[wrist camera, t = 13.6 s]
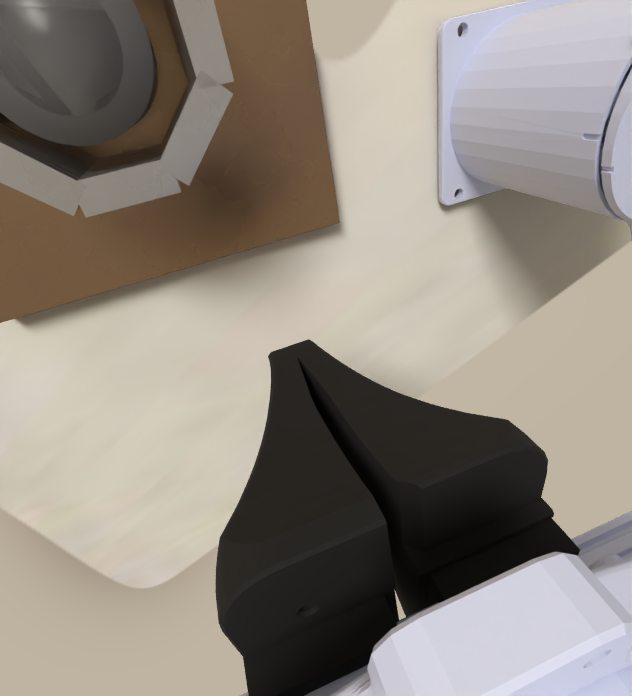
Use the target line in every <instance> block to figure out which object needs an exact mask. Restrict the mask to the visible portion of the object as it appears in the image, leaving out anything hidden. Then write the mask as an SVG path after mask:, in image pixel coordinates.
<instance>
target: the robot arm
mask: <svg viewBox="0 0 632 696" xmlns="http://www.w3.org/2000/svg"><path fill="white" fill-rule="evenodd" d="M460 24H461V26H462V29H463V31H462V35H461V36H460V37H459V36H458V32H457V31H458V27H459V25H460ZM438 156H439V201H440V202H441V203H442V204H444V205H446V206H449V205H453V204H456V203H460V202H463V201H466V200H469V199H473V198H476V197H479V196H483V195H486V194H489V193H493V192H496V191H499V190H502V189H506V188H507V189H510V190H514V191H518V192H521V193H525V194H529V195H532V196H536V197H540V198H543V199H547V200H551V201H554V202H558V203H562V204H565V205H569V206H573V207H576V208H580V209H584V210H587V211H591V212H595V213H598V214H602V215H606V216H609V217H613V218H617V219H620V220H624V221H626V222H627V223H628V225H629V227H630V230H631V240H632V0H530V1H526V2H521V3H517V4H512V5H508V6H503V7H499V8H494V9H490V10H485V11H481V12H476V13H472V14H467V15H463V16H458V17H454V18H450V19H447V20H445V21H444V22H443V23H442V24H441V26H440V28H439V32H438ZM456 190H459V192H458V195H457V196H456V197H455V196H454V195H455V192H456ZM268 358H269V361H270V366H271V392H270V402H269V409H268V416H267V422H266V426H265V431H264V435H263V439H262V443H261V446H260V449H259V453H258V456H257V459H256V462H255V465H254V468H253V470H252V473H251V475H250V478H249V480H248V482H247V485H246V487H245V489H244V492H243V494H242V496H241V499H240V501H239V503H238V505H237V507H236V509H235V511H234V513H233V514H232V516H231V518H230V520H229V522H228V524H227V526H226V527H225V529H224V531H223V533H222V535H221V537H220V540H219V547H218V555H217V566H216V600H217V610H218V620H219V624H220V627H221V629H222V631H223V633H224V634H225V635H226V636H227V637H228V639H229V640H230V641H231V642H232V644H233V645H234V646H235V647H236V649H237V650H238V651H239V652H240V653H241V655H242V656H243V659H244V666H245V673H246V680H247V687H248V692H247V693H245V694H243V695H241V696H632V511H630V512H628V513H626V514H624V515H622V516H620V517H617V518H615V519H613V520H611V521H609V522H607V523H605V524H603V525H601V526H598V527H596V528H594V529H592V530H590V531H588V532H586V533H584V534H582V535H579V536H577V537H575V538H573V539H570V538H569V537H568V536H567V535H566V533H565V532H564V531H563V530H562V529H561V528H560V527H559V526H558V525H557V524H556V522H555V521H553V519H552V517H553V515H554V513H553V510H552V509H551V508H550V506H549V505H548V504H547V503H546V502H545V501H544V500H543V499H542V498H541V495H542V491H543V487H544V483H545V478H546V474H547V465H548V459H547V457H546V454H545V452H544V451H543V450H542V449H541V448H540V447H539V446H537V445H536V444H535V443H534V442H533V441H532V440H531V439H530V438H529V437H528V436H527V435H526V434H525V433H524V432H522V431H521V430H520V429H519V428H517V427H516V426H515V425H513V424H512V423H511V422H510V421H509V420H505V419H499V418H493V417H488V416H482V415H476V414H470V413H464V412H461V411H456V410H452V409H448V408H444V407H440V406H436V405H433V404H429V403H426V402H423V401H420V400H417V399H414V398H411V397H408V396H405V395H403V394H400V393H398V392H395V391H393V390H391V389H388V388H386V387H384V386H382V385H380V384H378V383H376V382H374V381H372V380H370V379H368V378H366V377H364V376H362V375H361V374H359V373H357V372H356V371H354V370H352V369H351V368H349V367H348V366H346V365H344V364H343V363H341V362H340V361H338V360H337V359H335V358H334V357H332V356H331V355H330V354H328V353H327V352H325V351H324V350H323V349H321V348H320V347H319V346H317V345H316V344H315V343H314V342H312V341H311V340H306V341H303V342H300V343H297V344H294V345H291V346H288V347H285V348H282V349H279V350H276V351H273V352H271V353H270V354H269V356H268ZM394 590H395V591H396V594H397V596H398V598H399V601H400V603H401V606H402V608H403V610H404V613H405V615H406V618H404V619H401V620H399V618H398V611H397V605H396V598H395V591H394Z"/></svg>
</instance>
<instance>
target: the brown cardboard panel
mask: <svg viewBox="0 0 632 696" xmlns="http://www.w3.org/2000/svg"><path fill="white" fill-rule="evenodd" d="M133 2H134V4H135V5H136V7H137V9H138V12H139V14H140V16H141V18H142V21H143V23H144V26H145V28H146V31H147V34H148V36H149V39H150V42H151V44H152V47H153V50H154V53H155V58H156V63H157V71H158V83H157V90H156V94H155V98H154V101H153V103H152V105H151V107H150V109H149V111H148V112H147V114H146V115H145V116H144V117H143V118H142V119H141V120H140V121H139V122H138V123H136V124H135V125H134V126H132V127H131V128H130V129H129V130H127V131H126V132H125V133H123V134H122V135H120V136H118V137H117V138H115V139H113V140H110V141H107V142H105V143H101V144H96V145H89V146H73V145H66V144H60V143H56V142H53V141H49V140H46V139H44V138H41V137H39V136H37V135H34V134H32V133H30V132H28V131H27V130H25V129H23V128H21V127H20V126H18V125H17V124H15V123H14V122H12V121H11V120H9V119H8V118H7V117H5V116H4V115H3V114H2V113H1V112H0V323H1V322H5V321H8V320H11V319H15V318H18V317H22V316H25V315H28V314H32V313H35V312H38V311H42V310H45V309H49V308H52V307H55V306H59V305H62V304H65V303H69V302H72V301H76V300H79V299H82V298H86V297H89V296H92V295H96V294H99V293H103V292H106V291H109V290H113V289H116V288H119V287H123V286H126V285H130V284H133V283H136V282H140V281H143V280H146V279H150V278H153V277H157V276H160V275H163V274H167V273H170V272H173V271H177V270H180V269H184V268H187V267H190V266H194V265H197V264H200V263H204V262H207V261H211V260H214V259H217V258H221V257H224V256H227V255H231V254H234V253H238V252H241V251H244V250H248V249H251V248H254V247H258V246H261V245H265V244H268V243H271V242H275V241H278V240H281V239H285V238H288V237H292V236H295V235H298V234H302V233H305V232H309V231H312V230H315V229H319V228H322V227H325V226H329V225H332V224H336V223H339V216H338V209H337V203H336V196H335V189H334V183H333V176H332V170H331V163H330V156H329V150H328V143H327V136H326V130H325V123H324V116H323V110H322V103H321V96H320V90H319V83H318V77H317V70H316V63H315V57H314V50H313V43H312V37H311V31H310V23H309V17H308V10H307V4H306V0H133Z"/></svg>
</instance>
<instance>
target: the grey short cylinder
mask: <svg viewBox="0 0 632 696" xmlns="http://www.w3.org/2000/svg"><path fill="white" fill-rule="evenodd" d="M157 83H158V71H157V63H156V58H155V53H154V50H153V47H152V44H151V42H150V39H149V36H148V34H147V31H146V28H145V26H144V23H143V21H142V18H141V16H140V14H139V12H138V9H137V7H136V5H135V4H134V2H133V0H0V112H1V113H2V114H3V115H4V116H5V117H7V118H8V119H9V120H11V121H12V122H14V123H15V124H17V125H18V126H20V127H21V128H23V129H25V130H27V131H28V132H30V133H32V134H34V135H37V136H39V137H41V138H44V139H46V140H49V141H53V142H56V143H60V144H66V145H73V146H89V145H96V144H101V143H105V142H107V141H110V140H113V139H115V138H117V137H118V136H120V135H122V134H123V133H125V132H126V131H127V130H129V129H130V128H131V127H132V126H134V125H135V124H136V123H138V122H139V121H140V120H141V119H142V118H143V117H144V116H145V115H146V114H147V112H148V111H149V109H150V107H151V105H152V103H153V101H154V98H155V94H156V90H157Z"/></svg>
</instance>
